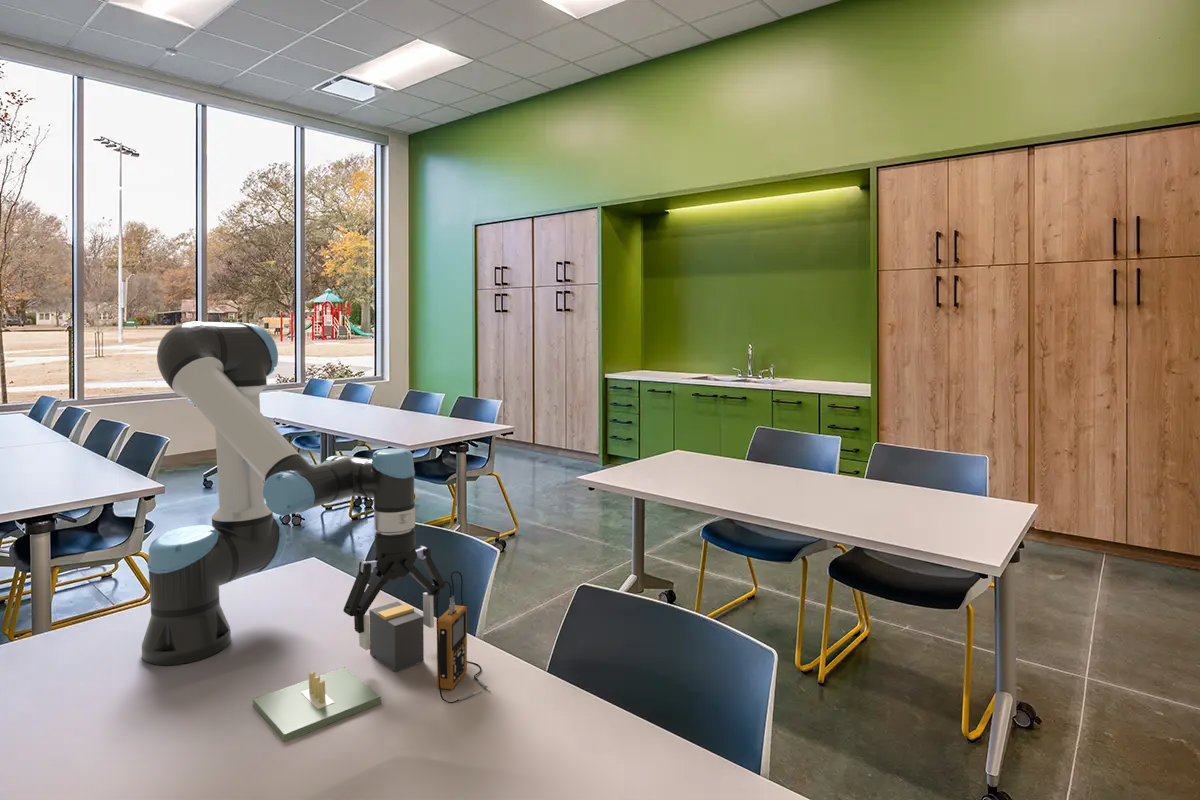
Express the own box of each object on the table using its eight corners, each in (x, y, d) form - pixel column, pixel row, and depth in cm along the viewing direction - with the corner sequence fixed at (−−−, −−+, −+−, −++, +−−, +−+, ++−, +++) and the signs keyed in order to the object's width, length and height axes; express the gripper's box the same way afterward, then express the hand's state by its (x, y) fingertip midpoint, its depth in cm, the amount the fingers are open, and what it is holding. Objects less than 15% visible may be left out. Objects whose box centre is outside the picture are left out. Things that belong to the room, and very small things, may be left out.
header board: (252, 705, 114) (252, 678, 114) (344, 673, 125) (344, 648, 125) (284, 741, 104) (283, 712, 104) (381, 702, 116) (380, 676, 115)
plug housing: (369, 653, 133) (369, 606, 132) (398, 643, 138) (397, 598, 137) (395, 672, 126) (394, 622, 125) (423, 661, 131) (423, 613, 130)
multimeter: (482, 708, 115) (481, 595, 113) (427, 701, 117) (426, 589, 115) (510, 667, 129) (510, 565, 127) (461, 661, 131) (461, 561, 129)
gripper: (340, 548, 118) (344, 664, 120) (461, 521, 136) (462, 622, 137) (322, 539, 123) (326, 650, 125) (441, 514, 141) (442, 612, 143)
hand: (397, 636), depth 131 cm, fingers open, 13 cm apart
